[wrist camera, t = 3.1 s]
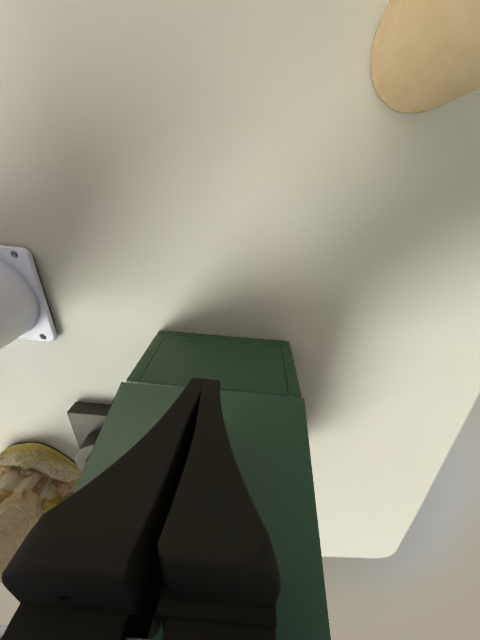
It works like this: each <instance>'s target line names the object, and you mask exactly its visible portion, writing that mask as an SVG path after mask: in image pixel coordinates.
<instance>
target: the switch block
mask: <svg viewBox="0 0 480 640" xmlns="http://www.w3.org/2000/svg"><path fill="white" fill-rule="evenodd" d="M110 408H111V405H104V404H93V403H82V402H75V403H74V405H73V406H72V407H71V408H70V409H69V411H68V412H67V414H68V417H69V419H70V422H71V425H72V428H73V431H74V433H75V436H76V439H77V442H78V445H79V449H78V451H77V453H76V455H75V456H74V460H75V463H76V465H77V468H78V469H79V470H80V471H82V472H83V470H84V467H85V465H86V463H87V460H88V458H89V456H90V454H91V451H92V449H93V447H94V444H95V442H96V440H97V437H98V435H99V433H100V431H101V428H102V426H103V424H104V421H105V419H106V417H107V414H108V412H109V410H110Z"/></svg>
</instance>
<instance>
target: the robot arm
mask: <svg viewBox="0 0 480 640" xmlns="http://www.w3.org/2000/svg"><path fill="white" fill-rule="evenodd" d="M15 252H16V253H17V254H18V256H17V255H16V253H15ZM15 339H27V340H38V341H49V342H52V341H54V340H56V339H57V333H56V330H55V327H54V323H53V320H52V317H51V314H50V311H49V308H48V304H47V301H46V298H45V295H44V292H43V289H42V285H41V282H40V279H39V276H38V273H37V270H36V266H35V263H34V260H33V257H32V254H31V252H30V251H29V250H28V249H26V248H23V247H12V246H0V349H1V348H3V347H4V346H6V345H7V344H9V343H11V342H12V341H14V340H15ZM220 389H221V382H220V381H219V380H214V379H202V378H191V379H190V381H189V382H188V384H187V385H186V387H185V388H184V390H183V391H182V392H181V394H180V395H179V396H178V398H177V399H176V400H175V401H174V403H173V404H172V405H171V406H170V408H169V409H168V410H167V411H166V413H165V414H164V415H163V416H162V417H161V418H160V419H159V420H158V422H157V423H156V424H155V425H154V426H153V427H152V428H151V429H150V430H149V431H148V432H147V433H146V434H145V435H144V436H143V437H142V438H141V439H140V440H139V441H138V442H137V443H136V444H135V445H134V446H133V447H132V448H131V449H129V450H128V451H127V452H126V453H125V454H124V455H123V456H122V457H120V458H119V459H118V460H117V461H116V462H115V463H113V464H112V465H111V466H110V467H108V468H107V469H106V470H105V471H103V472H102V473H101V474H99V475H98V476H97V477H95V478H94V479H93V480H92V481H90V482H89V483H88V484H86V485H85V486H84V487H82V488H81V489H79V490H78V491H77V492H75V493H74V494H72V495H71V496H69V497H68V498H66V499H65V500H63V501H62V502H60V503H59V504H58V505H56V506H55V507H53V508H52V509H50V510H49V511H47V512H46V513H44V514H43V515H42V516H41V517H40V519H39V520H38V522H37V523H36V524H35V525H34V527H33V528H32V529H31V530H30V532H29V533H28V535H27V536H26V537H25V539H24V540H23V542H22V544H21V545H20V547H19V548H18V550H17V551H16V553H15V554H14V556H13V557H12V559H11V560H10V562H9V563H8V565H7V567H6V568H5V570H4V571H3V573H2V583H3V584H4V586H5V587H6V588H7V589H8V590H9V591H10V592H11V593H12V594H13V595H14V596H15V597H16V599H17V600H19V602H20V605H19V607H18V609H17V611H16V613H15V614H14V616H13V618H12V619H11V621H10V623H9V625H8V626H5V625H0V640H152V639H153V638H154V637H155V636H156V634H157V633H158V632H159V630H160V625H161V623H162V627H163V631H164V632H163V637H162V640H276V630H275V628H276V627H277V618H276V602H277V599H278V597H279V594H280V592H281V579H280V573H279V568H278V564H277V560H276V556H275V553H274V549H273V546H272V543H271V539H270V536H269V533H268V531H267V529H266V527H265V525H264V523H263V521H262V519H261V517H260V515H259V513H258V511H257V509H256V507H255V505H254V503H253V501H252V499H251V497H250V495H249V492H248V490H247V488H246V485H245V483H244V481H243V478H242V476H241V473H240V471H239V469H238V466H237V463H236V460H235V458H234V455H233V452H232V449H231V446H230V442H229V439H228V435H227V431H226V428H225V423H224V419H223V413H222V408H221V400H220Z"/></svg>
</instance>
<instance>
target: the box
mask: <svg viewBox="0 0 480 640" xmlns="http://www.w3.org/2000/svg"><path fill="white" fill-rule="evenodd" d="M191 378H202V379H214V380H219V381H220V382H221V389H220V391H226V392H237V393H248V394H259V395H271V396H282V397H293V398H301V392H300V388H299V383H298V379H297V375H296V370H295V366H294V361H293V357H292V353H291V348H290V345H289V342H285V341H273V340H262V339H250V338H239V337H228V336H216V335H205V334H193V333H182V332H170V331H159V332H158V333H157V335H156V336H155V338H154V339H153V341H152V342H151V344H150V345H149V347H148V348H147V350H146V351H145V353H144V354H143V356H142V358H141V359H140V361H139V362H138V364H137V365H136V367H135V368H134V370H133V371H132V373H131V374H130V376H129V377H128V379H127V383H136V384H148V385H159V386H170V387H181V388H185V387H186V385H187V384H188V382H189V381H190V379H191Z"/></svg>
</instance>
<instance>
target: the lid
mask: <svg viewBox="0 0 480 640" xmlns="http://www.w3.org/2000/svg"><path fill="white" fill-rule="evenodd" d="M183 390H184V388H181V387H170V386H159V385H148V384H136V383H125V382H122V383H121V385H120V387H119V389H118V391H117V394H116V396H115V398H114V401H113V403H112V405H111V408H110V410H109V412H108V414H107V417H106V419H105V421H104V424H103V426H102V428H101V431H100V433H99V435H98V437H97V440H96V442H95V444H94V447H93V449H92V451H91V454H90V456H89V458H88V460H87V463H86V465H85V467H84V470H83V472H82V474H81V477H80V479H79V481H78V483H77V486H76V488H75V490H74V493H75V492H77V491H78V490H79V489H81V488H82V487H84V486H85V485H86V484H88V483H89V482H90V481H92V480H93V479H94V478H95V477H97V476H98V475H99V474H101V473H102V472H103V471H105V470H106V469H107V468H108V467H110V466H111V465H112V464H113V463H115V462H116V461H117V460H118V459H119V458H120V457H122V456H123V455H124V454H125V453H126V452H127V451H128V450H129V449H131V448H132V447H133V446H134V445H135V444H136V443H137V442H138V441H139V440H140V439H141V438H142V437H143V436H144V435H145V434H146V433H147V432H148V431H149V430H150V429H151V428H152V427H153V426H154V425H155V424H156V423H157V422H158V420H159V419H160V418H161V417H162V416H163V415H164V414H165V413H166V411H167V410H168V409H169V408H170V406H171V405H172V404H173V403H174V401H175V400H176V399H177V398H178V396H179V395H180V394H181V392H182V391H183ZM220 400H221V408H222V413H223V419H224V423H225V428H226V431H227V435H228V439H229V442H230V446H231V449H232V452H233V455H234V458H235V460H236V463H237V466H238V469H239V471H240V473H241V476H242V478H243V481H244V483H245V485H246V488H247V490H248V492H249V495H250V497H251V499H252V501H253V503H254V505H255V507H256V509H257V511H258V513H259V515H260V517H261V519H262V521H263V523H264V525H265V527H266V529H267V531H268V533H269V536H270V539H271V543H272V546H273V549H274V553H275V556H276V560H277V564H278V568H279V573H280V579H281V592H280V594H279V597H278V599H277V602H276V618H277V627H276V628H275V630H276V640H331V637H330V629H329V619H328V610H327V602H326V592H325V583H324V575H323V565H322V556H321V547H320V538H319V529H318V520H317V511H316V502H315V493H314V484H313V475H312V466H311V457H310V448H309V439H308V430H307V421H306V412H305V403H304V398H293V397H282V396H271V395H259V394H248V393H237V392H226V391H220ZM74 493H73V494H74ZM163 632H164V631H163V627H162V623H161V625H160V630H159V632H158V633H157V634H156V636H155V637H154V638H153V639H152V640H162V637H163Z"/></svg>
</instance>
